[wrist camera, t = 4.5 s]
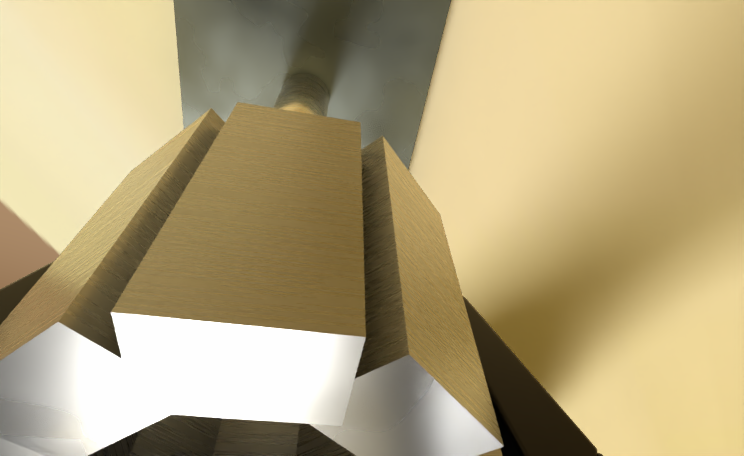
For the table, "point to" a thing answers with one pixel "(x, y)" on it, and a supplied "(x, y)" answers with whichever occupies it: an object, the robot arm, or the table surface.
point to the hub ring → (251, 309)
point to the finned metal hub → (313, 60)
